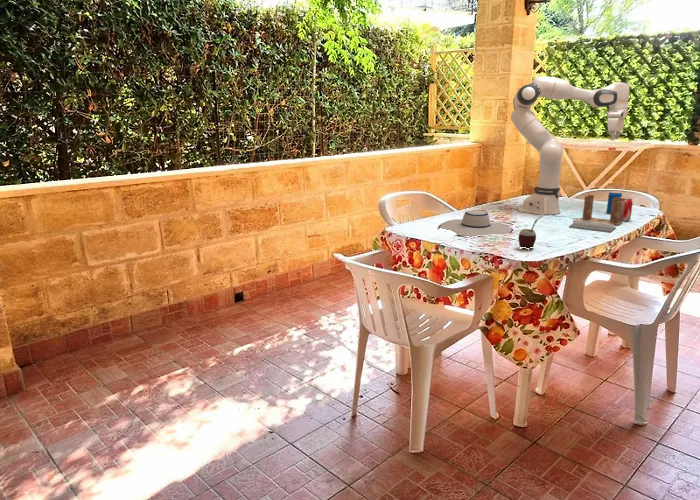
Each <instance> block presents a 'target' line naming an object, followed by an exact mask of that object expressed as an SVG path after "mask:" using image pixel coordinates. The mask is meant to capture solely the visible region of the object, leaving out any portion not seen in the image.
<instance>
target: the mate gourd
mask: <svg viewBox="0 0 700 500" xmlns="http://www.w3.org/2000/svg"><path fill="white" fill-rule="evenodd" d="M543 216H544V215H540V216H539V217H537V218H536V219H535V220H534V222H533V225H532V227H531V229H528V228H525V229H521V230H520V231H519V232H518V233H519V234H518V244H519V248H520V247H526V248H530V247H534V246H535V243H536V239H537V234H536V231H535V230H534V227H535V225H536V223H537V222H538V220H541V218H543Z"/></svg>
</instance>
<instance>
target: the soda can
mask: <svg viewBox="0 0 700 500" xmlns="http://www.w3.org/2000/svg"><path fill="white" fill-rule="evenodd" d="M619 198H622V200H621V208H620V216H619V221H623V222H622V223H624V222H625V223H626V222H629V221H630V220H631V216H632V209H633V198H632V197H630V196H622V197H619Z"/></svg>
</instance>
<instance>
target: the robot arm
mask: <svg viewBox="0 0 700 500" xmlns="http://www.w3.org/2000/svg"><path fill="white" fill-rule="evenodd" d="M539 98H545V99H549V100H557V101H558V100H566V99H568V100H569V99H570V100H577V101H580V102H585V103H586V104H588V105H589V106H591V107H592V108H595V109H596V108H597V109H598V108H605V107H608V108H609V109H608V112H607V131H608V133H610V141H615V140H619V139H620V134H621V131H624V127H625V118H626V117H627V116H628V106H629V105H628V101H629V99H630V85H629V84H628V82H624V81H613V82H612V83H610V84H609V85H607V86H605V87H601V88H595V89H585V88H581V87H577V86H573V84H571V83H570V82H569V81H567V80H566V79H562V78H559V77H554V76H545V75H539V76H536V77H535V78H534V79H533V80H532V82H531V83H528V84H525V85H522V86H521V87H520V88H519V89H518V90H517V91H516V93H515V95H514V97H513V102H512V103H513V108H514V110H513V111H512V112H511V115H510V121H511V122H512V124H513V126H514V127H515V128H516V130H518V132H519V133H520V134H521V136H523V138H524V139H525V140H526V141H527V142H528V144H530V145H531V146H532V147H533V148H534V149H535V150H536V151H538V153H539V159H538V161H539V162H538V164H539V166H538V173H539V174H538V181H537V182H538V183H537V184H538V185H537V186H535V187H534V188H533V193H531V195H529V196H528V197H526V198H525V199H524V200H523V202H522V206H520V207H518V208H517V211H518V212H520V213H521V212H522V213H527V214H532V215H533V214H534V215H538V216H539V215H540V216H545V215H558V214H560V213H561V210H560V201H559V200H560V195H561V187H560V183H561V173H562V172H561V171H562V169H561V168H562V155H563V153H564V147H563V145H562V143H561V142H560V141H559V140H558V139H557V138H556V137H555V136H554V135H553V134H552V133H551V132H550V131H549V130H548V129H547V128H546V127H545V126H544V125H543V124H542V123H541V121H540V120H539V119H538V117H536V116H535V115H534V114H533V113H532V110H531V107H532V106H533V105H534V104H535V102H536V101H537V100H538V99H539Z"/></svg>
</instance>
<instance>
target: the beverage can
mask: <svg viewBox="0 0 700 500" xmlns="http://www.w3.org/2000/svg"><path fill="white" fill-rule="evenodd" d="M615 197H618V198H619V197H623V194H622V192H621V191H618V190H610V191H609V193H608V198H607V205H606V206H607V207H606V213H607V214H608V215H611V208H612V200H613V199H615Z"/></svg>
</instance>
